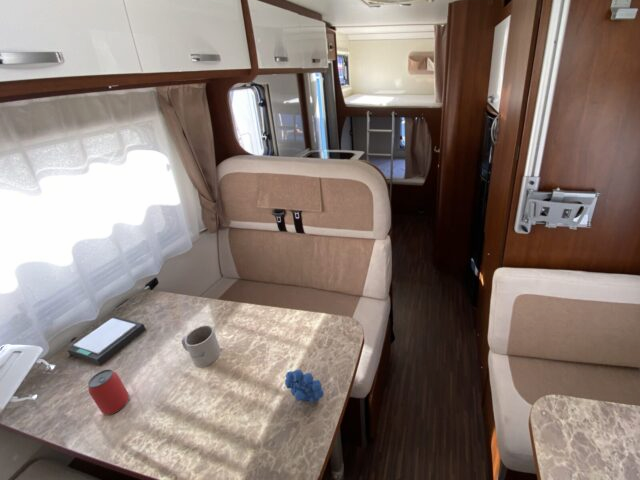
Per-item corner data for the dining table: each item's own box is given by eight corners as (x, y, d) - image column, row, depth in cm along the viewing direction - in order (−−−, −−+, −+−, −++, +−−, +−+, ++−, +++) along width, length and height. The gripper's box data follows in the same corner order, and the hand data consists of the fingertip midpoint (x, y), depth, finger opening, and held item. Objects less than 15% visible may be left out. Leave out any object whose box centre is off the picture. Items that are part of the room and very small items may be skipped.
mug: (226, 349, 108) (219, 328, 104) (205, 370, 101) (196, 349, 97) (201, 340, 113) (194, 319, 109) (180, 359, 105) (171, 338, 101)
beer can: (107, 420, 87) (89, 393, 83) (98, 408, 91) (81, 381, 86) (133, 400, 93) (118, 373, 88) (124, 389, 96) (110, 363, 91)
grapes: (282, 410, 88) (274, 383, 83) (292, 388, 94) (286, 361, 89) (319, 417, 86) (313, 390, 81) (327, 394, 92) (323, 367, 87)
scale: (100, 365, 104) (96, 357, 103) (70, 355, 109) (65, 347, 107) (145, 329, 118) (142, 322, 117) (117, 321, 123) (113, 314, 121)
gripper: (-7, 352, 83) (56, 362, 90) (-70, 426, 66) (15, 430, 73) (6, 334, 83) (69, 345, 90) (-53, 403, 65) (30, 410, 73)
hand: (44, 384), depth 81 cm, fingers open, 8 cm apart
